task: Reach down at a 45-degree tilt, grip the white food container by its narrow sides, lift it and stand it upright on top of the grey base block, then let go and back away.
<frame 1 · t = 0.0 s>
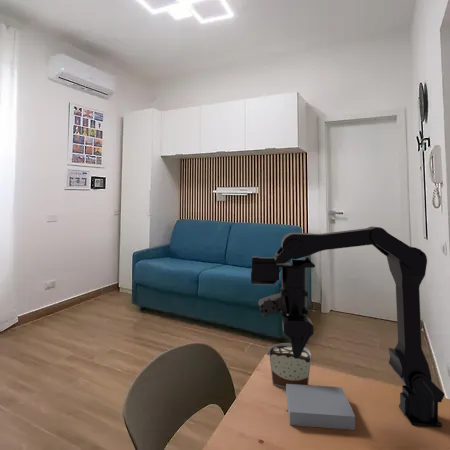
hand: (294, 348, 72), 15 cm above the table, tool pointing down, fingers open, 9 cm apart
base block: (317, 410, 71), on the table
food container: (291, 383, 83), on the table
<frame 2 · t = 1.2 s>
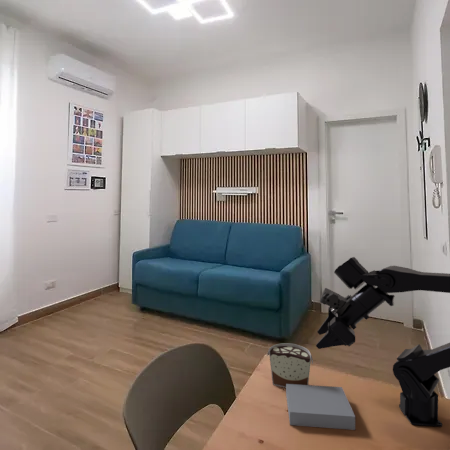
hand: (317, 339, 80), 13 cm above the table, tool tilted 45°, fingers open, 9 cm apart
nothing on the table moved.
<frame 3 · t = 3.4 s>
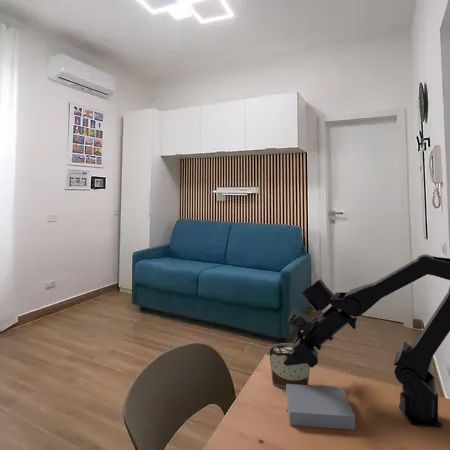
hand: (286, 358, 83), 7 cm above the table, tool tilted 45°, fingers closed on food container, 6 cm apart
food container: (291, 383, 83), on the table, touching gripper
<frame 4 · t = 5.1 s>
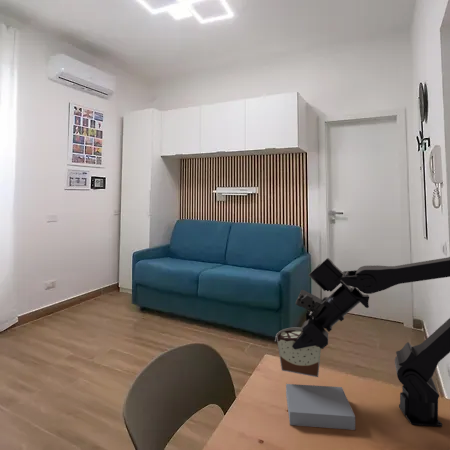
hand: (295, 342, 79), 13 cm above the table, tool tilted 45°, fingers closed on food container, 6 cm apart
food container: (301, 367, 80), point 6 cm above the table, touching gripper
when the fingers open (11 cm above the table, at t = 7.1 s): food container stays where it is, resting on base block.
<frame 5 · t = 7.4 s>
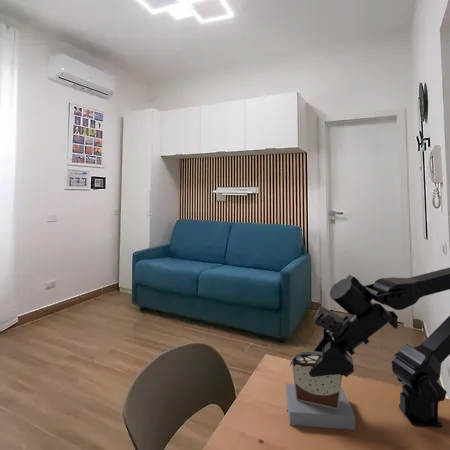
hand: (311, 364, 71), 11 cm above the table, tool tilted 45°, fingers open, 9 cm apart
food container: (317, 397, 72), point 3 cm above the table, touching base block
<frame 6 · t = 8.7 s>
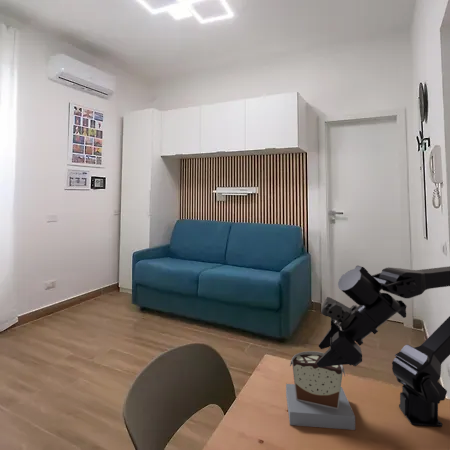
hand: (318, 355, 70), 13 cm above the table, tool tilted 45°, fingers open, 9 cm apart
nothing on the table moved.
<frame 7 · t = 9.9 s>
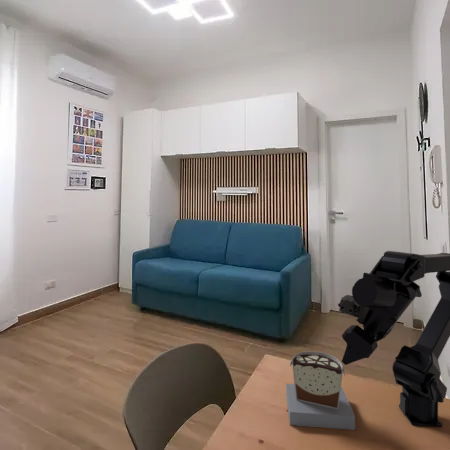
hand: (351, 355, 70), 13 cm above the table, tool tilted 30°, fingers open, 9 cm apart
nothing on the table moved.
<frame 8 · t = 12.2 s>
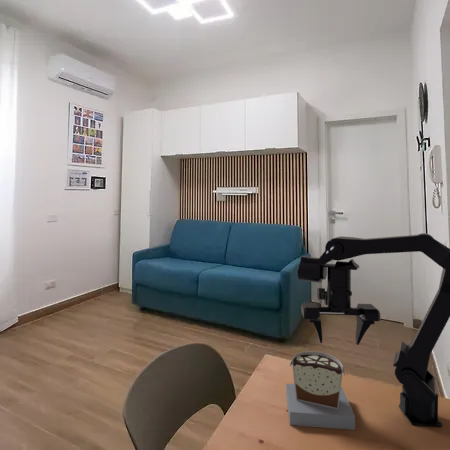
hand: (338, 343, 78), 13 cm above the table, tool pointing down, fingers open, 9 cm apart
nothing on the table moved.
at the end: food container inside the target area on the base block (0.7 cm from its centre), point 2.8 cm above the base block's base; food container tilted 0°; the gripper is holding nothing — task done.
